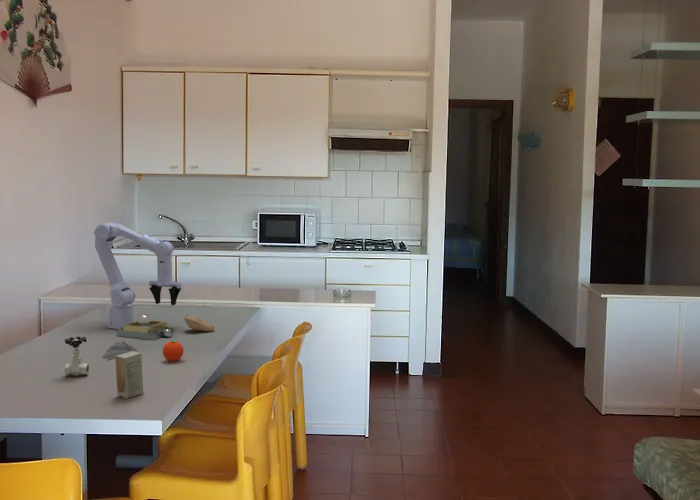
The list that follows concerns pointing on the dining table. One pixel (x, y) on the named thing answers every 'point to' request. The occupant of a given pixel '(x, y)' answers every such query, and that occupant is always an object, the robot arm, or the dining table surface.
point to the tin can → (144, 320)
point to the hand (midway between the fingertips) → (165, 304)
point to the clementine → (173, 351)
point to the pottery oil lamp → (198, 323)
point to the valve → (76, 358)
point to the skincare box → (129, 374)
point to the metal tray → (146, 330)
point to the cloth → (118, 350)
